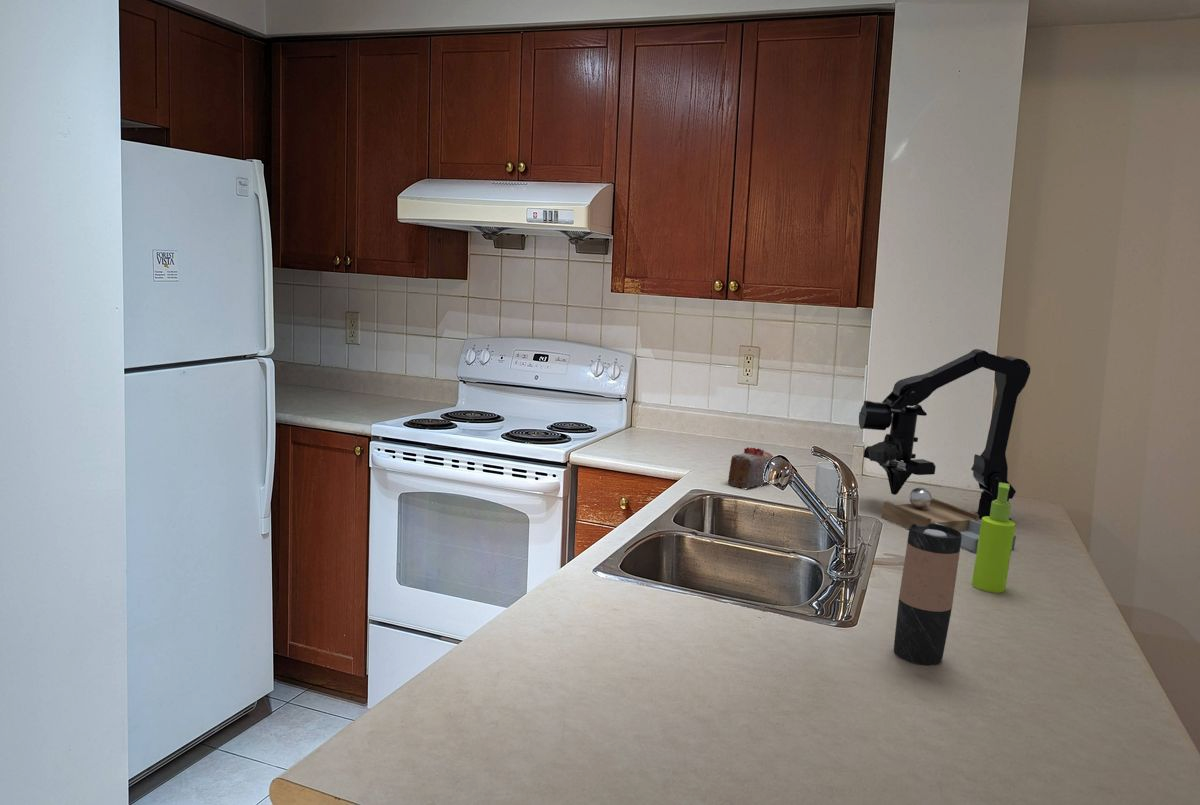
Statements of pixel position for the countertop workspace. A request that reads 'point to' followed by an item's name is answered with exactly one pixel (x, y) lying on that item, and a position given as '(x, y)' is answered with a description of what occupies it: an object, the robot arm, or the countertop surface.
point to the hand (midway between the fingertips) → (894, 494)
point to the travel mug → (926, 593)
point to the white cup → (826, 483)
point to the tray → (973, 537)
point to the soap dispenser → (994, 545)
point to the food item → (748, 468)
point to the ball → (920, 497)
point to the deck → (929, 515)
